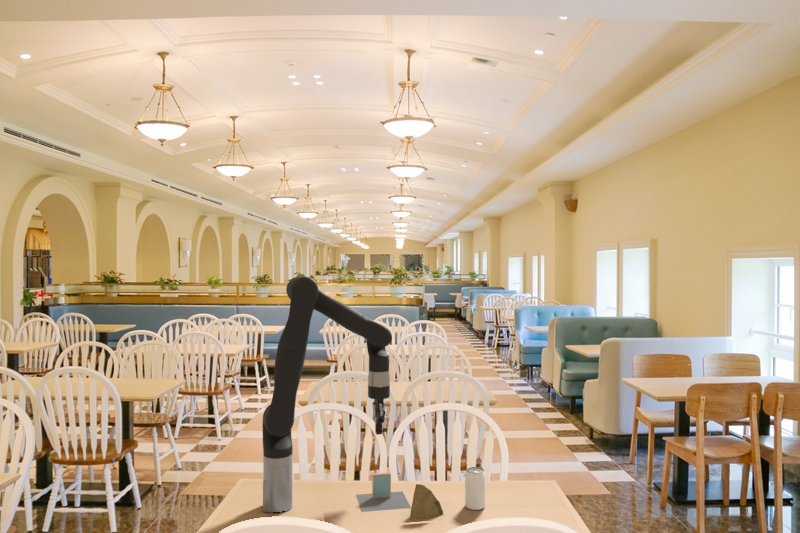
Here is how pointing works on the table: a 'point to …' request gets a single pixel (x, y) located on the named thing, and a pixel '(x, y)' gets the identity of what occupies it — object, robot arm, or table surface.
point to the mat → (382, 502)
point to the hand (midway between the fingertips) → (378, 433)
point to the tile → (381, 485)
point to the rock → (424, 504)
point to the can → (475, 488)
